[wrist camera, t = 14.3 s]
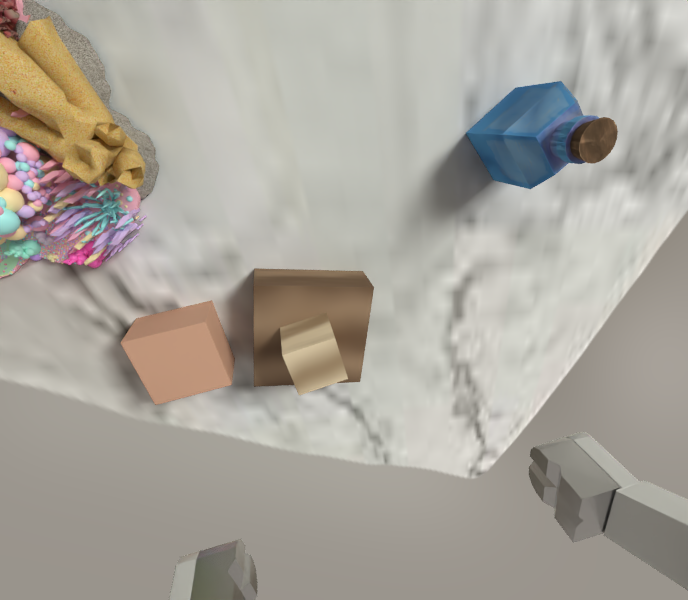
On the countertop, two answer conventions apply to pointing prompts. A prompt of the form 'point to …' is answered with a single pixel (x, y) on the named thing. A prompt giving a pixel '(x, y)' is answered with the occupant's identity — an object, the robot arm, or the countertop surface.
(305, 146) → the countertop surface
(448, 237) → the countertop surface
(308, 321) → the maple cube
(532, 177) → the perfume bottle
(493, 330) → the countertop surface
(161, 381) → the terracotta block
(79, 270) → the countertop surface
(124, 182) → the candy landscape model
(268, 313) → the walnut block
